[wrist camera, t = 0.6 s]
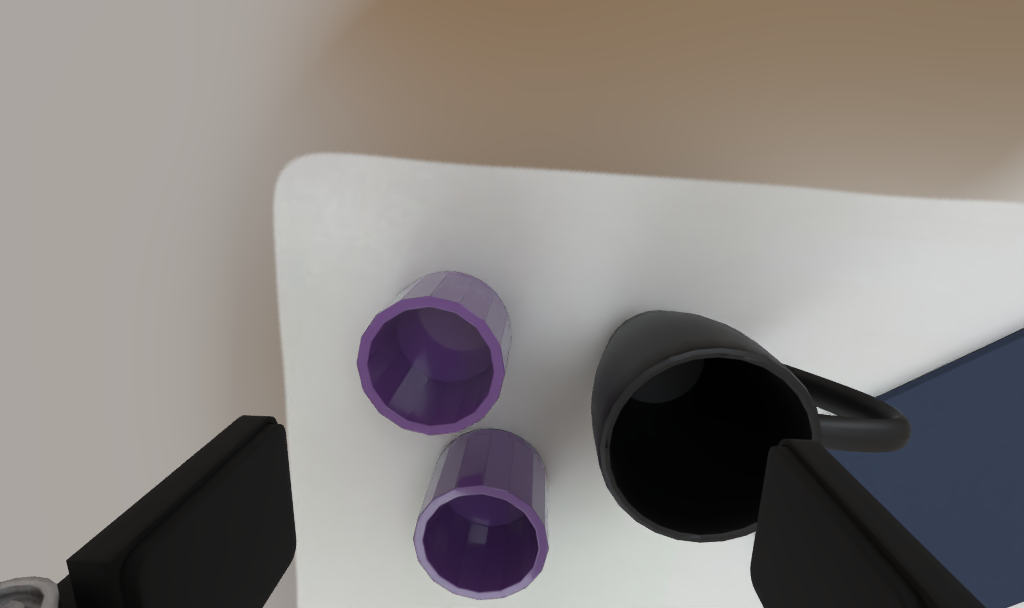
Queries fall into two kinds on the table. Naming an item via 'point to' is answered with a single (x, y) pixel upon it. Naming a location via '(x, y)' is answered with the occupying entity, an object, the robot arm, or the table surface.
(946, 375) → the placemat
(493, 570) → the ramekin
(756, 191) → the table surface
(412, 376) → the ramekin
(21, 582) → the robot arm
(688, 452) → the mug
